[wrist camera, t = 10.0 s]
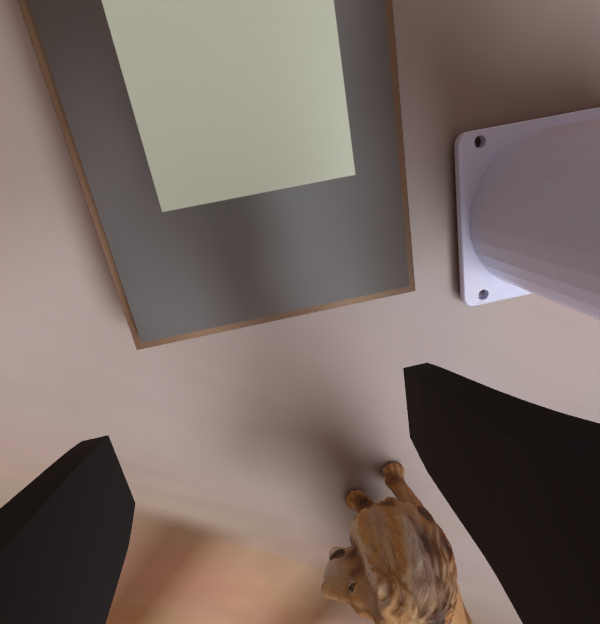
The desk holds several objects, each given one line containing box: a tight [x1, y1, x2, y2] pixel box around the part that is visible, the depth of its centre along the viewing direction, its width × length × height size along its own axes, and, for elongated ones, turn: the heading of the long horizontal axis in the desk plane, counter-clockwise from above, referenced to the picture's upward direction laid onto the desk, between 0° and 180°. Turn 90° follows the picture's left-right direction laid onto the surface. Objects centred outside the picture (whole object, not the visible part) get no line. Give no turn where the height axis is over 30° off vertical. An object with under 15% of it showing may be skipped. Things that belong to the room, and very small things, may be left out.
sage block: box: [101, 0, 355, 212], centre depth 12 cm, size 5×5×5 cm
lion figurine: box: [321, 462, 472, 624], centre depth 20 cm, size 15×5×9 cm, turn 33°
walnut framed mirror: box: [18, 0, 415, 350], centre depth 15 cm, size 12×16×2 cm
